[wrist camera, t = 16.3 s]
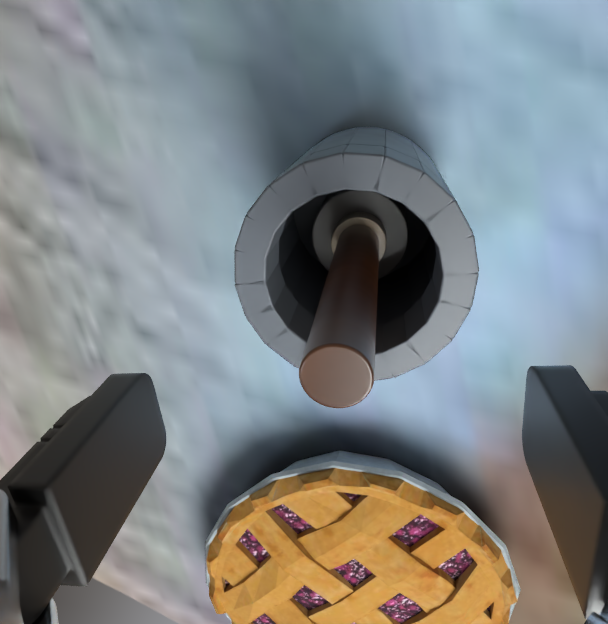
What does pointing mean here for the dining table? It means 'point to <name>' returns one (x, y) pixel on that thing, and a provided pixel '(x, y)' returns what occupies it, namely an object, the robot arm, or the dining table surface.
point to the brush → (350, 292)
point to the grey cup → (391, 288)
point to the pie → (356, 550)
